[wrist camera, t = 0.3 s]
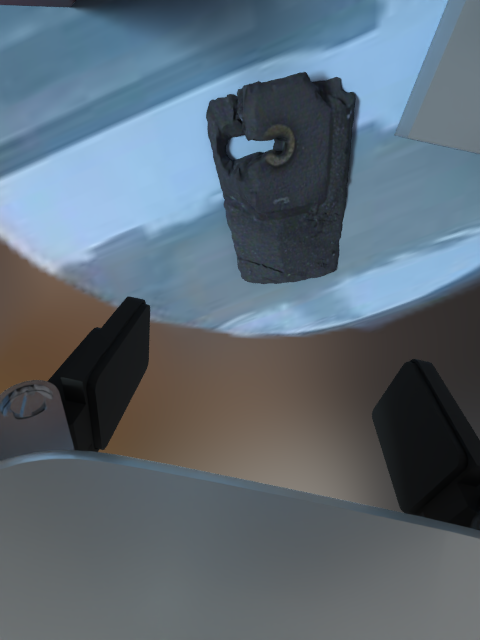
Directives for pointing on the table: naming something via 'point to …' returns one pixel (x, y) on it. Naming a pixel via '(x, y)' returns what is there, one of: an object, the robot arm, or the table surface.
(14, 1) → the bucket
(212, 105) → the dark slate chunk
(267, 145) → the table surface
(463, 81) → the switch box
